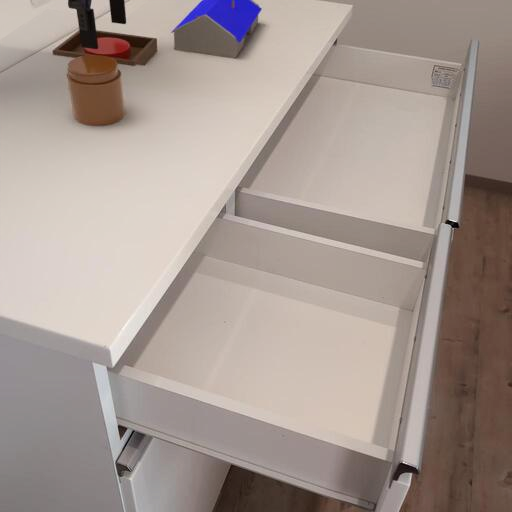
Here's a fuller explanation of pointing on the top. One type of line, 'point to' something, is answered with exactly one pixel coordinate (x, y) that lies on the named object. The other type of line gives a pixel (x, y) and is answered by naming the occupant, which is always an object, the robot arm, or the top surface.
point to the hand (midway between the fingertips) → (105, 34)
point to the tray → (140, 55)
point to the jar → (95, 90)
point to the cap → (111, 48)
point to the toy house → (217, 27)
